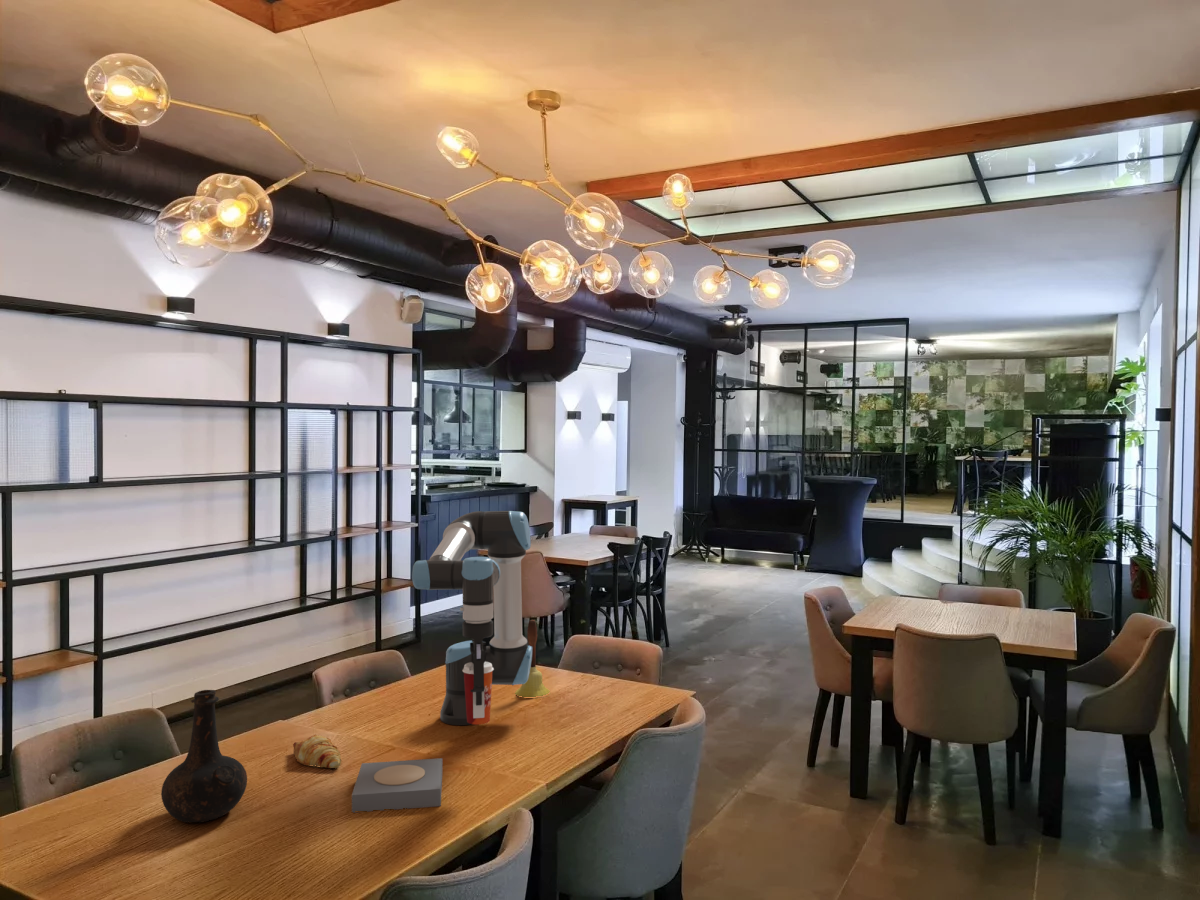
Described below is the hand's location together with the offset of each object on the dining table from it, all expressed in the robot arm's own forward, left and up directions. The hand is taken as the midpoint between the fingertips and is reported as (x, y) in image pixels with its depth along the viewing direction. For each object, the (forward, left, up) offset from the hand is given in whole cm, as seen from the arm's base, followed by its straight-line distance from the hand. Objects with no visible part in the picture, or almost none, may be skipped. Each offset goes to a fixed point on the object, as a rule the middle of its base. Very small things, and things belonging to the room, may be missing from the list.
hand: (478, 712), depth 207 cm
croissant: (-24, -43, -18) cm, 52 cm away
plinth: (+1, -19, -18) cm, 26 cm away
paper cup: (0, 0, -2) cm, 2 cm away
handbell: (-77, +20, -18) cm, 81 cm away
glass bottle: (+6, -62, -18) cm, 65 cm away
